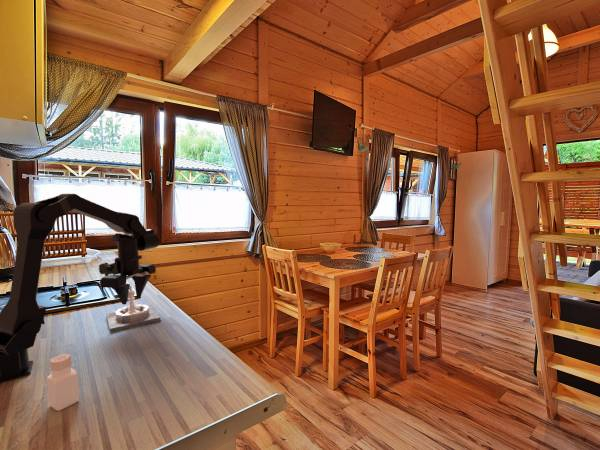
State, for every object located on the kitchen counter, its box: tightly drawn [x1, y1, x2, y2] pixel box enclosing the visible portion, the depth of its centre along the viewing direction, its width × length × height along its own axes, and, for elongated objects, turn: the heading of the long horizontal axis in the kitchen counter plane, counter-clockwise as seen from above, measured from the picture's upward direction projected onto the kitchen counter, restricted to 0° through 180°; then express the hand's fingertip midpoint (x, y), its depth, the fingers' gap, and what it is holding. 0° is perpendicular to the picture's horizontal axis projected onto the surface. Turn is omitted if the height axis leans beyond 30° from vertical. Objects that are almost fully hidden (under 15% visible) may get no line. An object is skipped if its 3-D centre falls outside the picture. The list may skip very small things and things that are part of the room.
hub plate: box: [105, 303, 162, 333], centre depth 102 cm, size 14×14×3 cm
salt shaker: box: [46, 353, 80, 412], centre depth 61 cm, size 4×4×10 cm
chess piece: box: [125, 285, 140, 314], centre depth 101 cm, size 5×5×10 cm
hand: (131, 300), depth 101 cm, fingers open, 6 cm apart
